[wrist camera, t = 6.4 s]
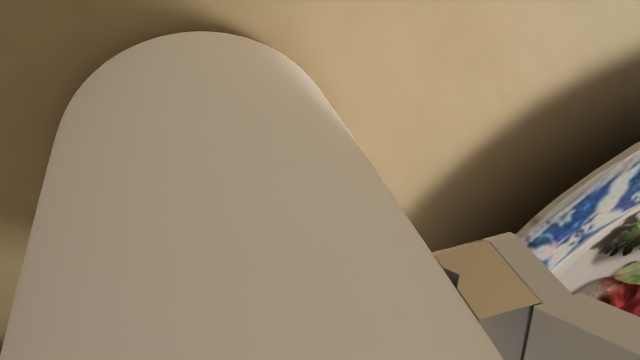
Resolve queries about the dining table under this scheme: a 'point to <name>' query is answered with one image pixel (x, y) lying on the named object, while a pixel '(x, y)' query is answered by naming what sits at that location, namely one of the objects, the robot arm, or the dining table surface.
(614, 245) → the ceramic plate
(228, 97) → the can
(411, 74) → the dining table surface
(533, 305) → the robot arm
